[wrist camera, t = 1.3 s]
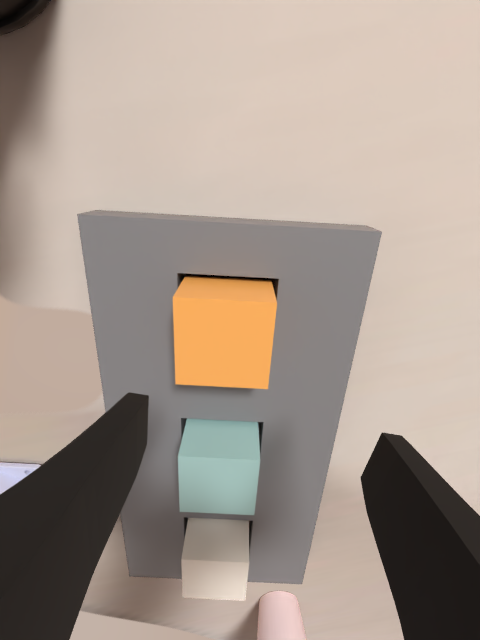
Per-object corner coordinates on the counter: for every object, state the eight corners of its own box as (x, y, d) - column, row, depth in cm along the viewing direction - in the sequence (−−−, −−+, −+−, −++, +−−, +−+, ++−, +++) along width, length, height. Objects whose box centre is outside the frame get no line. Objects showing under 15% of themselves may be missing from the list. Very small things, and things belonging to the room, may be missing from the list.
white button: (189, 549, 26) (182, 597, 23) (189, 512, 24) (181, 559, 21) (245, 552, 26) (245, 600, 23) (248, 515, 24) (249, 562, 21)
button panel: (137, 550, 28) (129, 576, 26) (95, 210, 17) (77, 214, 15) (298, 557, 28) (301, 584, 26) (366, 225, 17) (381, 231, 15)
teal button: (188, 467, 22) (179, 511, 19) (187, 415, 20) (177, 456, 17) (253, 470, 22) (254, 515, 19) (258, 419, 20) (260, 460, 17)
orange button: (186, 351, 18) (175, 384, 15) (185, 275, 16) (172, 297, 14) (264, 355, 18) (268, 389, 15) (271, 280, 16) (277, 302, 14)
